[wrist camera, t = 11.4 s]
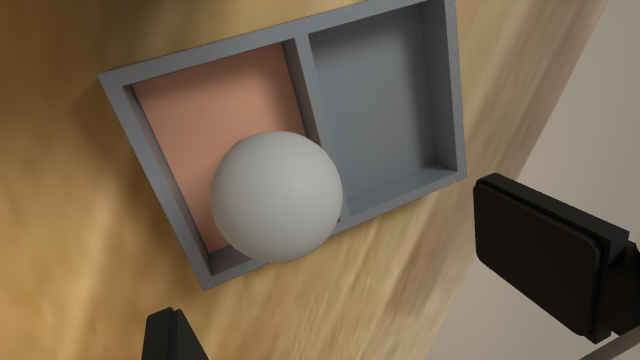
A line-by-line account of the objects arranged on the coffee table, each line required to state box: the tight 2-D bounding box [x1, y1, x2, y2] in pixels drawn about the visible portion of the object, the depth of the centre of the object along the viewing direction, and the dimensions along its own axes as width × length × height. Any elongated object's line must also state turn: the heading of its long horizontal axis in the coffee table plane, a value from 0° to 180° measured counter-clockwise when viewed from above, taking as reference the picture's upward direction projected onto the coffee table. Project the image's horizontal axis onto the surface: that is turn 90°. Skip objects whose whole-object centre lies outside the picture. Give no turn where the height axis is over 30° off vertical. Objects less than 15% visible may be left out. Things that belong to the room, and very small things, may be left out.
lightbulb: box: [210, 131, 343, 263], centre depth 19 cm, size 6×6×11 cm
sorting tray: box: [97, 0, 467, 291], centre depth 24 cm, size 21×14×4 cm, turn 104°
